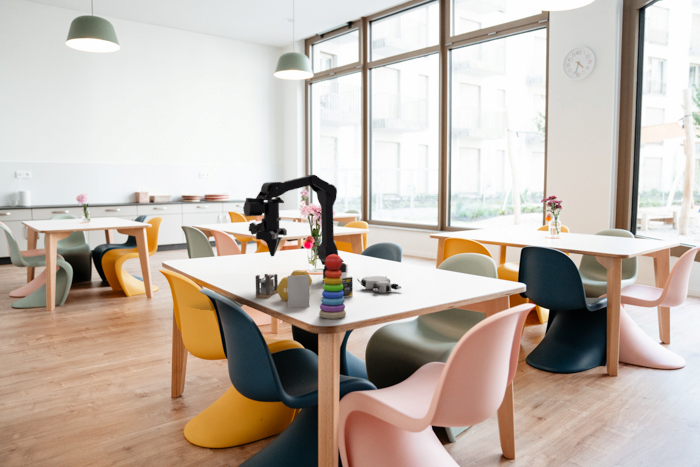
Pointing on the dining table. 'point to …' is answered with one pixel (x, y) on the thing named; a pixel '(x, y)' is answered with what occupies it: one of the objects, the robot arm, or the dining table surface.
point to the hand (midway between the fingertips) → (272, 256)
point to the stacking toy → (332, 290)
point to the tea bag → (298, 291)
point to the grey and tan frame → (266, 287)
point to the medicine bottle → (346, 280)
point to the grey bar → (265, 279)
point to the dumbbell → (283, 284)
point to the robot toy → (378, 284)
